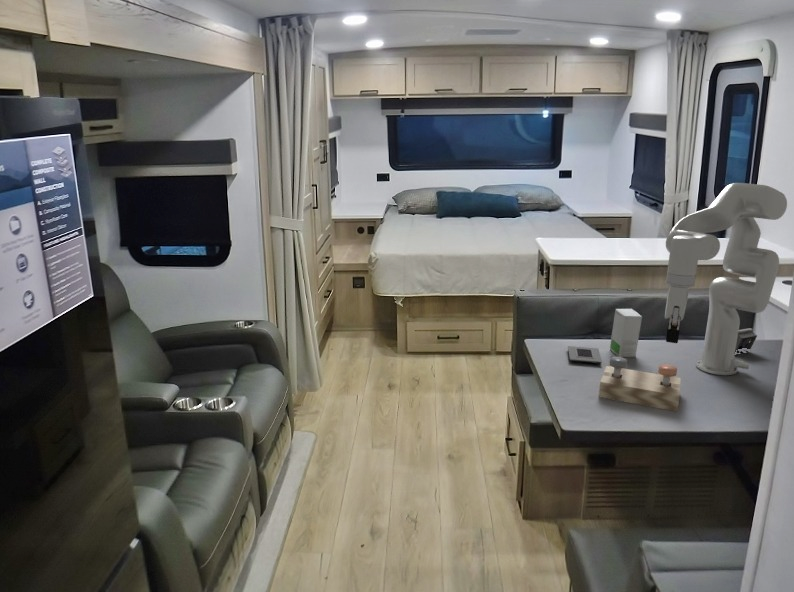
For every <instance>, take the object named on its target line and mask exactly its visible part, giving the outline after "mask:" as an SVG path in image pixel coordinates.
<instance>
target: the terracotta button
mask: <svg viewBox="0 0 794 592" xmlns="http://www.w3.org/2000/svg"><path fill="white" fill-rule="evenodd" d="M677 372H678V367H676V366H674V365H671V364H666V363H665V364H660V365H659V366H658V372H657V374H660V375H663V381H662V385H663V386H669V384H670V377H677Z"/></svg>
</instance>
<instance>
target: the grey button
mask: <svg viewBox="0 0 794 592" xmlns="http://www.w3.org/2000/svg"><path fill="white" fill-rule="evenodd" d="M609 366H611V367H614V374H613V377H616V378H620V374H621V368H623V369H627V368H628V367H627V366H628V359H626V357H618V356H612V357H610V358H609Z"/></svg>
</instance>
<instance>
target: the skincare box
mask: <svg viewBox="0 0 794 592" xmlns="http://www.w3.org/2000/svg"><path fill="white" fill-rule="evenodd" d="M642 319H643V315H640V314H639V313H638V312H637V311H636V310H634V309H633V308H615V312H614V317H613V324H612V332H611V337H610V343H609V344H610V346H609V350H611V351H612V353H613V354H615V356H616V357H622V358H636V356H637V352H638V345H639V344H638V343H639V337H640V331H641V327H642V326H641V325H642Z"/></svg>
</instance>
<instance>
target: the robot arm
mask: <svg viewBox="0 0 794 592" xmlns="http://www.w3.org/2000/svg"><path fill="white" fill-rule="evenodd" d="M787 208H788V200H787V197H786V194H784V193H783V192H782V191H779V190H778V189H776V188H774V187H772V186H769V185H765V184H757V183H756V184H755V183H748V182H747V183H746V182H733V183H730V184H728V185H726V186H725V187H724V188H723V189H722V190H721V192H720V193H719V194H718V196H717V197H716V198H715V199H714V200H713V201H712V203H711V204H709V206H708V207H707V208H704V209H701V210H698V211H695V212H694V213H691V214H688V215H686V216H684V217H683V218H681V219H680V220H679V221H677V223H676V224H675V225H674V226H673V227H672V229H671V230H670V232H669V233H668V235H667V237H666V240H665V248H666V250H667V252H668V253H669V256H668V262H667V263H668V265H667V272H666V277H665V278H666V279H665V283H666V285H669V286H668V290H667V298H666V302H665V304H666V305H665V311H664V319H666V320H667V319H669V321H668V322H667V330H666V337H665V338H666V339H665V342H666V343H671V344H678V343H679V338H680V331H681V330H680V327H681V322H682V321H683V319H684V317H685V312H686V308H687V302H688V298H689V291H690V288H693V287H694V286H695V282H696V276H697V270H698V264H699V262H698V261H709V260H713V258H715V257H716V256H717V255H718V254H719V252H720V249H721V242H720V240H719V238H718V237H717V236H716V235H714V234H711V233H715V232H721V231H725V230H727V229H730V228H731V229H730V230H731V231H730V235H729V239H728V242H727V245H726V249H725V253H724V256H723V260H722V268H723V270H724V271H725V272H727V273H730V274H733V275H738V276H744V277H749V278H753V279H755V281H750V280H746V279H741V278H735V277H730V276H719V277H716V278H714V279H713V280H712V281H711V282H710V284H709V289H708V297H709V302H708V303H709V304H708V305H709V308H708V316H707V323H706V328H705V337H704V340H703V347H702V353H701V354H702V356H701V358H700V359H697V360H696V362H695V366H696V368H698V369H699V370H701V371H702V372H704V373H708V374H712V375H717V376H732V375H735V374H737V371H738V369H743V370H744V369H745V370H749V367H750V364H749V363H746V362H745V361H744V360H738V359H736V358H735V357H736V355H734V354H735V348H736V342H737V337H738V331H739V330H740V324H741V320H740V319H741V318H740V316H739V313H738V311H737V310H740V311H744V312H748V313H755V314H757V313H758V314H759V313H762V312H763V311H765V310H766V308H767V307H768V305H769V302H770V298H771V295H772V292H773V289H774V286H775V281H776V279H777V275H778V271H779V267H780V257H779V255H778V253H777V252H776V251H774V250H772V249H767V248H762V247H758V245H759V242H760V239H761V228H760V226H759V224H758V223H757V221H756V220H755V219H762V220H768V221H769V220H770V221H771V220H773V221H776V220H779V219H781V218H782V217H783V216H784V214H785V213H786V211H787Z"/></svg>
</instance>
